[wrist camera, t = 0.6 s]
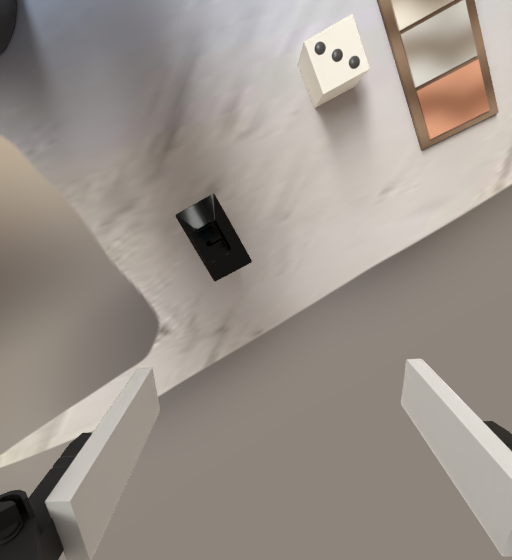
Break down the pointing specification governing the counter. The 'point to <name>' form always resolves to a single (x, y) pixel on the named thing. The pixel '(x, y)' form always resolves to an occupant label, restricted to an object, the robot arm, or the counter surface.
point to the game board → (440, 64)
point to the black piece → (213, 237)
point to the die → (333, 61)
